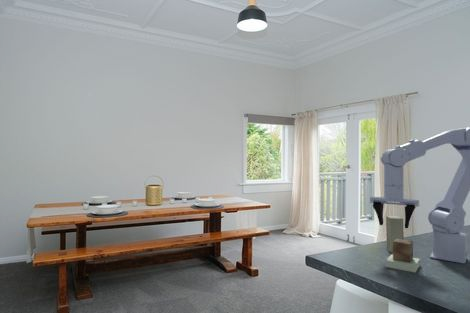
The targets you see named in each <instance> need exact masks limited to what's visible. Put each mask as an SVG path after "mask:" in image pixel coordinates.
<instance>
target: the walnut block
mask: <svg viewBox="0 0 470 313" xmlns="http://www.w3.org/2000/svg"><path fill="white" fill-rule="evenodd" d="M392 254H393V260H397V261H403V262H408V263H410V262H411V261H412V260H413V258H414V241H413V240H407V239H404V240H402V239H396V240H394V241H393V253H392Z"/></svg>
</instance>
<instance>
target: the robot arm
mask: <svg viewBox="0 0 470 313" xmlns="http://www.w3.org/2000/svg"><path fill="white" fill-rule="evenodd" d="M446 144H448V145H449V144H450V145H451V146H452V147H453V148H454V149H455V150H456V151H457V152H458V153H459V154H460V156H461V161H460V163H459V166H458V168H457V170H456V171H455V174H454V176H453V178H452V181H451V182H450V185H449V187H448V189H447V191H446V194H445V195H444V197H443V199H442V200H441V201H439V202H438V203H436V204H435V206H434V208H433V209H431V210H430V212H429V213H428V215H427V218H428V222H429V223H430V225H431V228H432V252H431V253H430V256H429V258H430V259H437V260H440V261H441V260H442V261H447V262H454V263H460V264H466V262H467V257H468V250H467V233H465V232H461V230H463V228H464V226H465V217H466V215H467V213H466V211H465V209H464V207H463V206H464V204H465V201H466V199H467V197H468V194H470V193H469V192H470V126H468V127H461V128H460V127H459V128H458V127H457V128H453V129H449V130H446V131H443V132H441V133H438V134H436V135H434V136H432V137H429V138H427V139H425V140H422V141H421V140H420V139H409V140H408V142H407V143H405V144H402V145H400V144H399V145H396V146H395V148H393V149H391V148H390V149H386V150H385V151H384V152H383V153H382V156H381V157H380V161H381V163H382V164H383V168H384V169H383V170H384V171H383V173H384V174H383V175H384V176H383V180H384V182H383V184H384V185H383V186H384V187H383V188H384V190H383V195H384V196H370V197H369V204H372V208H373V209H374V211H375V214H376V216H377V219H378V222H379V226H383V225H384V207H385V206H384V204H387V205H397V206H398V205H399V206H404V215H405V216H404V218H405V220H404V229H409V225H410V221H411V217H412V216H413V213H414V212H415V209H416V207H420V200H419V199H413V198H412V199H410V198H404V166H405V165H406V164H407V162H411V161H413V160H416V159H418V158H421V157H424V156H425V155H426V153H427V151H430V150H431V149H435V148H438V147H440V146H443V145H446Z"/></svg>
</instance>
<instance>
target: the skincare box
mask: <svg viewBox="0 0 470 313" xmlns="http://www.w3.org/2000/svg"><path fill="white" fill-rule="evenodd" d="M385 224H386V232H385V234H386V249H387V250H388V252H390V253H391V254H393V241H394V240H396V239H402V240H405V239H404V238H405V237H404V218H403V217H401V216H399V215H386V216H385Z"/></svg>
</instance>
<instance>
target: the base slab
mask: <svg viewBox="0 0 470 313" xmlns="http://www.w3.org/2000/svg"><path fill="white" fill-rule="evenodd" d="M420 266H421V259H420V258H418V257H413V260H412V261H411V262H410V263H408V262H403V261H397V260H393V253H391V254H389V256H388V257H387V258H386V259H385V267H386V268H389V269H395V270H399V271H405V272H409V273H410V272H411V273H417V271H418V269H419V268H420Z"/></svg>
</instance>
